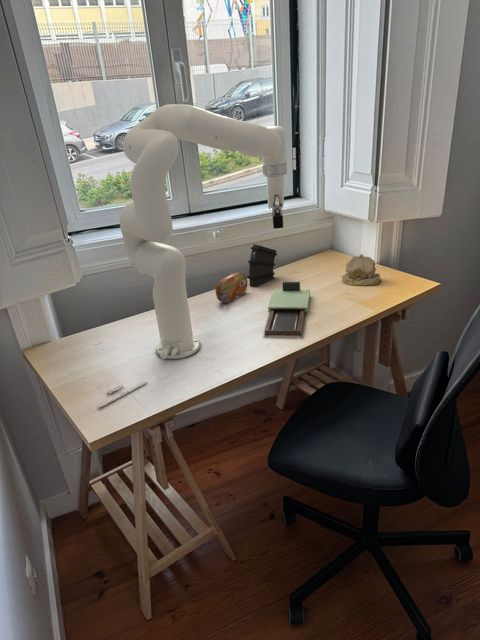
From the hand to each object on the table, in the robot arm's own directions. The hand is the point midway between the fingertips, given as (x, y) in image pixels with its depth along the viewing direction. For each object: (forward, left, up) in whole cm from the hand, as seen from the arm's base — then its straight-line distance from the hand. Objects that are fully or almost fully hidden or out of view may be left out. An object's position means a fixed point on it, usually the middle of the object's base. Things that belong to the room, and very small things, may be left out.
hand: (278, 223), depth 165 cm
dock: (-15, -4, -27) cm, 31 cm away
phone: (-22, -4, -26) cm, 34 cm away
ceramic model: (+17, -28, -27) cm, 43 cm away
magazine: (+17, +9, -27) cm, 33 cm away
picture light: (-62, +36, -27) cm, 76 cm away
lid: (-8, -4, -25) cm, 27 cm away
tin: (0, +18, -27) cm, 32 cm away
